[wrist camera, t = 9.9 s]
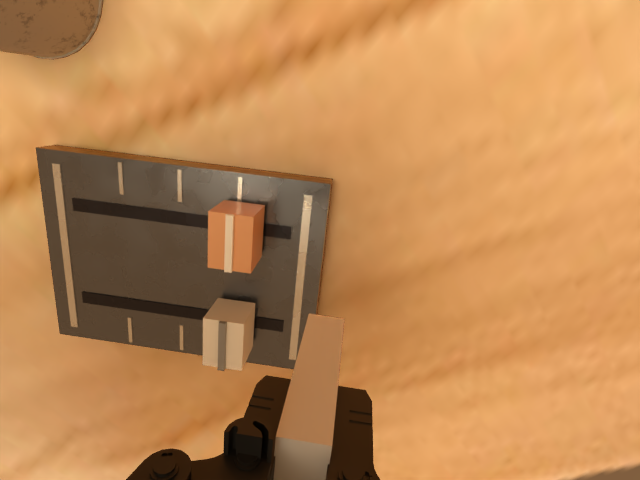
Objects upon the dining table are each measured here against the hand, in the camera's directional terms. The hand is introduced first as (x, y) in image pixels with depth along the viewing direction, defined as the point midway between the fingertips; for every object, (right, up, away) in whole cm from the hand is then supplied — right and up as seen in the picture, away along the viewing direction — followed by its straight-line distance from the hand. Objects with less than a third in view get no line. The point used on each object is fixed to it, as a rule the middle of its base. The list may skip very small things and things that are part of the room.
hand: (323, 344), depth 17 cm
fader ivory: (-7, -2, +15) cm, 17 cm away
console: (-11, +3, +17) cm, 20 cm away
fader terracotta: (-6, +5, +13) cm, 15 cm away
